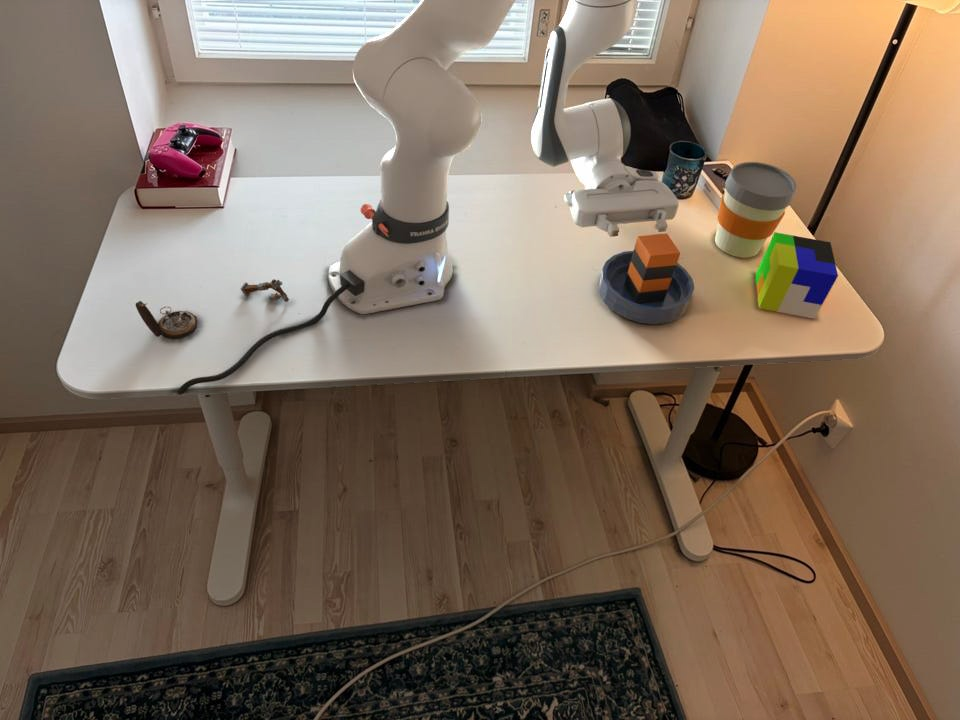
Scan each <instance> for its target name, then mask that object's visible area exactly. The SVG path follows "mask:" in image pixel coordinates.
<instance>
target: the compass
mask: <svg viewBox="0 0 960 720" xmlns="http://www.w3.org/2000/svg"><path fill="white" fill-rule="evenodd" d="M146 305H148V302H146V303H144V302H143V301H141V300H139V301H138V302H136V303H135V308H136V310H137V312H138V315H139V316H140V318H141V319H142V321H143V323H144V324H145V325H146V326H147V328H148V329H149V330H150V332H151V333H152V334H153V335H154V336H155V337H157V338H159V337H163V338H165V339H169V340H180V339H184V338H187V337H189V336H190V335H192V334H194V333H195V331H196V330H197V328H198V326H199V321H198V317H197V315H195V314H194V313H192V312H190V311H187V310H186V311H185V310H176V311H172V309H173V308H172V307H170V306H163V307H161V308H160V309H159V313H160V314H161V315H163V316H162V317H161V318H160V319H159V320H158V321H157V319H156V318H155V317H154V315H153V314H152V312H151V311H150V309H149V308H148V307H147V306H146ZM166 308H169V309H170V311H169V310H166V311H165V313H163V312H162V310H163V309H166Z"/></svg>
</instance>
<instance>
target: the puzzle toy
mask: <svg viewBox="0 0 960 720" xmlns="http://www.w3.org/2000/svg"><path fill="white" fill-rule="evenodd" d="M838 273H839V272H838V269H837V265H836V261H835V255H834V252H833V247H832V243H831V241H827V240H826V241H825V240H820V239H815V238H808V237H803V236H798V235H792V234H787V233H783V232H782V233H781V232H776V231H774V232H773V234H772V237H771V239H770V242H769V244H768V246H767V249H766V250H765V253H764V255H763V257H762V260H761V261H760V264H759V266H758V268H757V270H756V273H755V284H756V294H757V305H758V306H757V307H758V309H759V310H760V309H761V310H766V311H771V312H775V313H781V314H788V315H791V316H797V317H803V318H806V319H807V318H808V319H813V320H815V319H816V317H817V316H818V314H819V312H820V310H821V308H822V306H823V304H824V302H825V301H826V299H827V297H828V296H829V293H830V291H831V290H832V288H833V286H834V284H835V283H836V281H837V279H838V277H839V274H838Z"/></svg>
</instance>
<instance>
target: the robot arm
mask: <svg viewBox="0 0 960 720" xmlns="http://www.w3.org/2000/svg"><path fill="white" fill-rule="evenodd" d="M515 2H516V0H421V1H420V2H419V3H418V4H417V6H416V7H415V8H414V9H413V10H412V11H411V12H410V13H409V14H408V15H407V16H406V17H405V18H404V19H403V20H402V21H401V22H400V23H399V24H397V25H396V26H395V27H394V28H393V29H391V30H390V31H388V32H386V33H385V34H381V35H379V36H375V37H373V38H371V39H368V40H367V41H366V42H364V43H363V45H362V46H361V47H359V50H358V51H357V53H356V55H355V57H354V60H353V63H352V77H353V80H354V81H353V82H354V83H355V86H356V87H357V89H358V90H359V92H360V93H361V95H362V96H363V98H364V99H365V101H366V102H367V104H368V105H369V106H370V107H372V108H373V109H374V110H375V111H376V112H377V113H379V114H380V115H381V116H382V117H383V118H385V119H386V120H387V121H388V122H389V123H390V124H391V126H392V128H393V131H394V133H395V145H394V147H393V148H392V149H391V150H389V151H387V153H386V154H385V155H384V156H383V157H382V159H381V162H380V167H379V170H380V171H379V172H380V200H379V202H378V204H377V207H376V209H374V208H373V207H372V205H371V204H370V203H364V204H363V205H361V207H360V210H359V211H360V213H361V214H362V216H364V218H365V219H366V220H371V221H370V223H368V224H367V225H366V226H365V227H364V228H363V229H361V231H360V232H358V233H357V234H356V235H355V236H353V238H351V239H350V240H349V241H348V242H347V243H345V244H344V246H343V247H342V250H341V254H340V258H339V259H340V260H339V261H337V262H335V263H333V264H331V265H330V266H329V267H328V271H327V279H328V283H329V287H330V288H331V290H332V292H333V293H331V295H329V297H328V298H327V299H326V300H325V302H324V303H323V305H322V308H321V310H320V311H319V313H318V314H316V315H315V316H314V317H312V318H311V319H309V320H306V321H304V322H302V323H299V324H295V325H291V326H287V327H284V328H279V329H277V330H275V331H272V332H269V333H267V334H266V335H264V336H263V337H261V338H260V339H259V340H256V342H255V343H254V344H253V345H252V346H251V347H250V348H248V350H247V351H246V352H245V353H244V354H243V356H242V357H240V359H238V361H237V362H235V364H233V365H232V366H230V367H229V368H228V369H226V370H225V371H222V372H220V373H218V374H213V375H209V376H207V375H206V376H200V377H195V378H192V379H189V380H187V381H185V382H184V383H182V385H181V386H180V387H179V389H178V390H177V395H182V394H184V393H185V392H186V391H187V390H188V389H189V388H190V387H193V386H194V385H198V384H205V383H213V382H217V381H221V380H224V379H226V378H228V377H230V376H231V375H233V374H234V373H236V372H237V371H238V370H239V369H241V367H243V366H244V365H245V364H246V363H247V362H248V361H249V359H250V358H251V357H252V356H253V355H254V353H255V352H256V351H257V350H258V349H260V348H261V347H263V345H264V344H266V343H268V342H269V341H270V340H273V339H274V338H276V337H279V336H281V335H285V334H289V333H292V332H295V331H299V330H302V329H304V328H305V329H306V328H307V327H310V326H313V325H314V324H316V323H317V322H319V321H321V320H322V319H323V318H324V317H325V316H326V314H327V312H328V310H329V307H330V305H332V303H333V302H334V301H335V300H336V299H338V300H339V301H340V302H341V303H342V304H343V305H344V306H345V307H347V308H348V309H349V310H351V311H353V312H355V313H357V314H359V315H367V314H368V315H369V314H374V313H378V312H384V311H388V310H394V309H399V308H405V307H409V306H416V305H419V304H424V303H430V302H434V301H439V300H441V299H443V297H444V293H445V288H446V286H447V284H448V283H449V282H450V280H451V279H452V277H453V272H454V271H453V269H454V268H453V265H452V261H451V258H450V255H449V248H448V247H449V246H448V238H447V236H448V235H447V229H448V227H449V223H450V204H449V201H448V187H449V175H450V168H451V164H452V162H453V159H454V158H455V157H456V156H458V155H459V154H462V153H463V152H465V151H466V150H467V149H468V148H470V147H471V145H472V144H473V143H474V141H475V140H476V139H477V137H478V135H479V133H480V130H481V126H482V121H483V111H482V107H481V105H480V103H479V102H478V100H477V99H476V98H475V96H474V94H473V93H472V91H470V89H469V88H468V87H467V86H466V84H464V83H463V81H462V80H461V79H459V78H458V77H457V76H455V75H453V73H451V72H449V71H448V69H449V68H450V66H451V65H453V63H454V62H456V61H457V60H458V59H459V58H460V57H462V56H463V55H465V54H466V53H468V52H471V51H476V50H477V51H478V50H481V49H484V48H485V47H487V46H488V45H489V44H490V43H491V42H492V40H493V39H494V37H495V35H496V34H497V32H498V30H499V29H500V27H501V26H502V24H503V22H504V20H505V19H506V17H507V15H508V14H509V12H510V10H511V8H512V7H513V5H514V4H515ZM637 9H638V0H568V4H567V7H566V11H565V12H564V16H563V17H562V19H561V21H560V23H559V24H558V26H556V27H555V28H554V29H553V30H552V31H551V33H550V35H549V39H548V42H547V45H546V51H545V55H544V62H543V69H542V74H541V81H540V88H539V95H538V101H537V106H536V111H535V115H534V118H533V122H532V126H531V134H530V141H531V146H532V150H533V154H534V156H535V157H536V158H537V159H538V160H539V161H540V162H543V163H544V164H546V165H548V166H551V167H553V168H554V167H558V166H560V165H563V164H566V163H568V162H570V163H571V167H572V169H573V171H574V174H575V175H576V177H577V179H578V181H579V182H580V183H581V185H582V186H584V189H578V190H570V191H569V192H567V193H565V195H564V196H563V199H564V202H565V204H566V205H568V206H569V209H570V214H571V217H572V220H573V223H574V224H575V225H576V226H578V227H579V228H590V227H591V228H592V227H596V228H598V229H600V230H602V231H603V232H605V233H607V235H608V237H610V238H612V237H618V236H619V233H620V227H619V226H618V225H623V224H625V225H626V224H636V223H648V222H655V225H654V229H655V230H656V232H657V233H666V232H667V229H668V222H667V221H671V220H674V219H675V216H676V215H677V212H678V209H679V206H680V201H679V199H678V197H677V196H676V195H675V194H674V192H673V191H672V190H671V189H670V188H669V186H668V185H667V184H665V183H664V182H662V181H660V180H659V178H660V177H659V174H658V173H657V172H656V171H653V170H646V169H639V168H634V167H631V166H628V165H625V164H624V163H623V162H622V158H623V157H624V156H625V154H626V151H627V150H628V147H629V145H630V141H631V135H632V133H631V131H632V130H631V123H630V122H631V121H630V118H629V116H628V114H627V112H626V109H624V107H623V106H622V105H621V104H620V103H619V102H618V101H616V100H615V99H613V98H612V97H608V98H602V99H597V100H593V101H589V102H586V103H583V104H578V105H574V106H570V107H566V108H565V104H566V99H567V93H568V89H569V84H570V80H571V79H572V77H573V75H574V74H575V72H576V71H577V70H579V68H581V67H582V66H583V65H584V64H586V63H587V62H589V61H590V60H591V59H593V58H595V57H597V56H598V55H599V54H602V52H605V51H606V50H609V49H611V48H613V47H614V46H615V45H616V44H618V43H619V42H620V41H621V40H622V39H623V38H624V37H625V36H626V35H627V33H628V32H629V31H630V30H631V28H632V26H633V24H634V21H635V18H636V14H637Z"/></svg>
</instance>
